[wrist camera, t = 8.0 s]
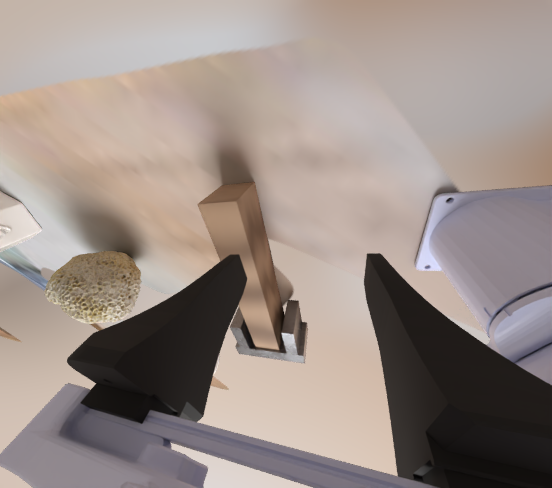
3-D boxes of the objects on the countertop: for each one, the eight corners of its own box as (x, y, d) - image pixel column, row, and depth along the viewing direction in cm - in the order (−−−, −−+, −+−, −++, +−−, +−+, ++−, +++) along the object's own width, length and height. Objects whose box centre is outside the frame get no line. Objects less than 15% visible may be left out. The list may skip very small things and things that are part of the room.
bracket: (303, 301, 27) (299, 334, 23) (307, 330, 31) (304, 363, 27) (238, 297, 30) (224, 326, 26) (249, 324, 34) (239, 353, 30)
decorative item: (144, 231, 26) (63, 287, 18) (176, 279, 31) (123, 340, 23) (84, 237, 29) (-5, 286, 22) (121, 279, 34) (58, 332, 26)
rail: (285, 318, 31) (279, 350, 27) (264, 317, 32) (255, 347, 28) (255, 181, 19) (236, 201, 15) (223, 184, 20) (197, 204, 16)
